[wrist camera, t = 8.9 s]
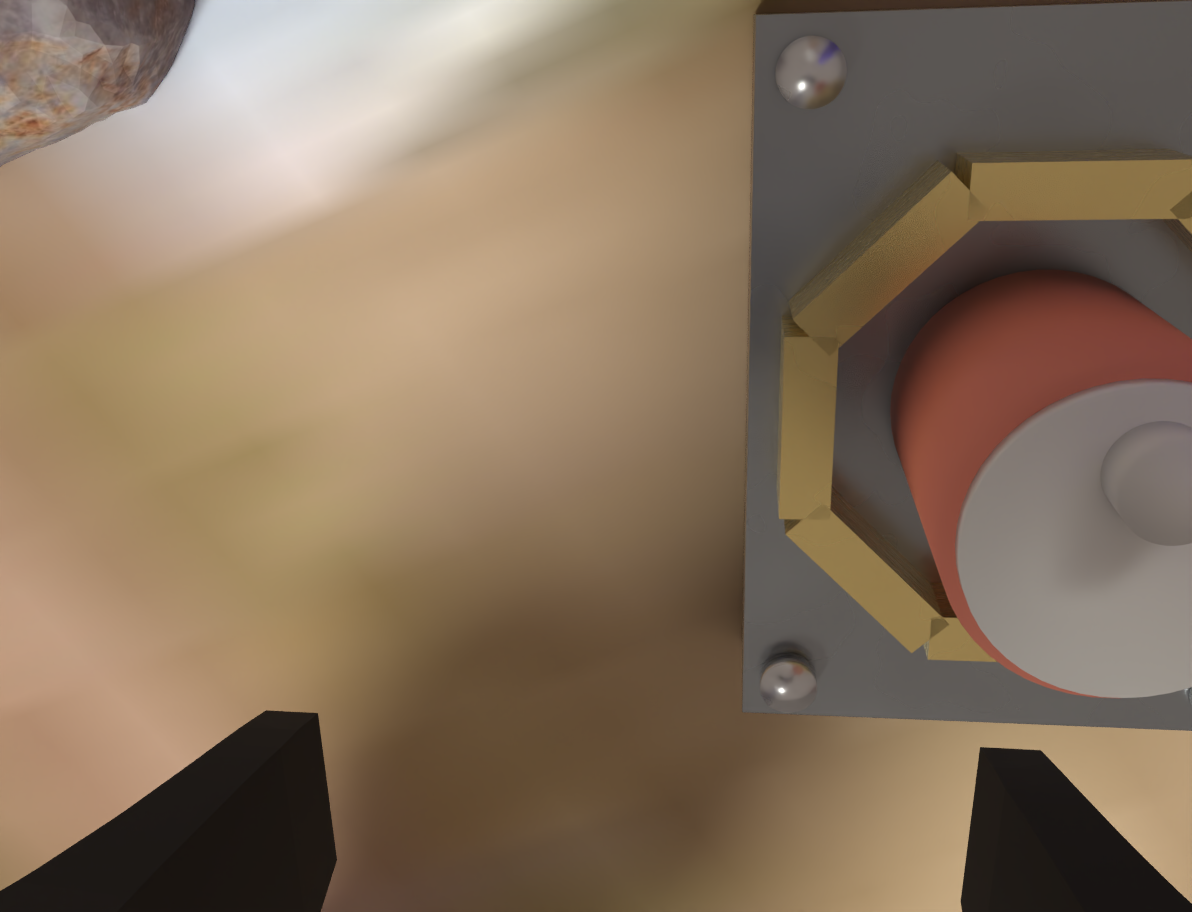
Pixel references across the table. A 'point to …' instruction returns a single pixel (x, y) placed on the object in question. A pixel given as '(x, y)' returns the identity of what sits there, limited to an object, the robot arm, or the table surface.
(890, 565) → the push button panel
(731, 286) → the table surface
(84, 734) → the table surface
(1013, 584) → the can
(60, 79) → the stone
